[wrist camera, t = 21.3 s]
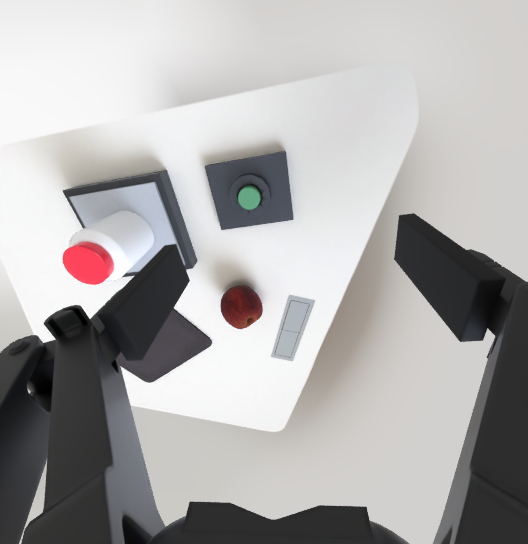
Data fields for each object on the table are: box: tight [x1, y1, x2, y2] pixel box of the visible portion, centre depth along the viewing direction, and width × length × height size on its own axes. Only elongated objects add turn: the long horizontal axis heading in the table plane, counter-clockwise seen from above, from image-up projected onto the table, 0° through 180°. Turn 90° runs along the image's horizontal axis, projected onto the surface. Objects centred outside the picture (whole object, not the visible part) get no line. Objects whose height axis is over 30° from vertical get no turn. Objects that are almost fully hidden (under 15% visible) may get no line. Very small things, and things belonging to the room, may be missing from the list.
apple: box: [221, 286, 263, 329], centre depth 47 cm, size 7×8×8 cm
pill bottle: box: [63, 211, 154, 285], centre depth 36 cm, size 8×8×11 cm
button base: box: [205, 151, 293, 230], centre depth 38 cm, size 12×10×3 cm
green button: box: [238, 185, 261, 210], centre depth 37 cm, size 3×3×2 cm
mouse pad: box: [116, 309, 212, 383], centre depth 58 cm, size 25×21×1 cm
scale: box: [63, 170, 197, 277], centre depth 42 cm, size 16×16×3 cm
